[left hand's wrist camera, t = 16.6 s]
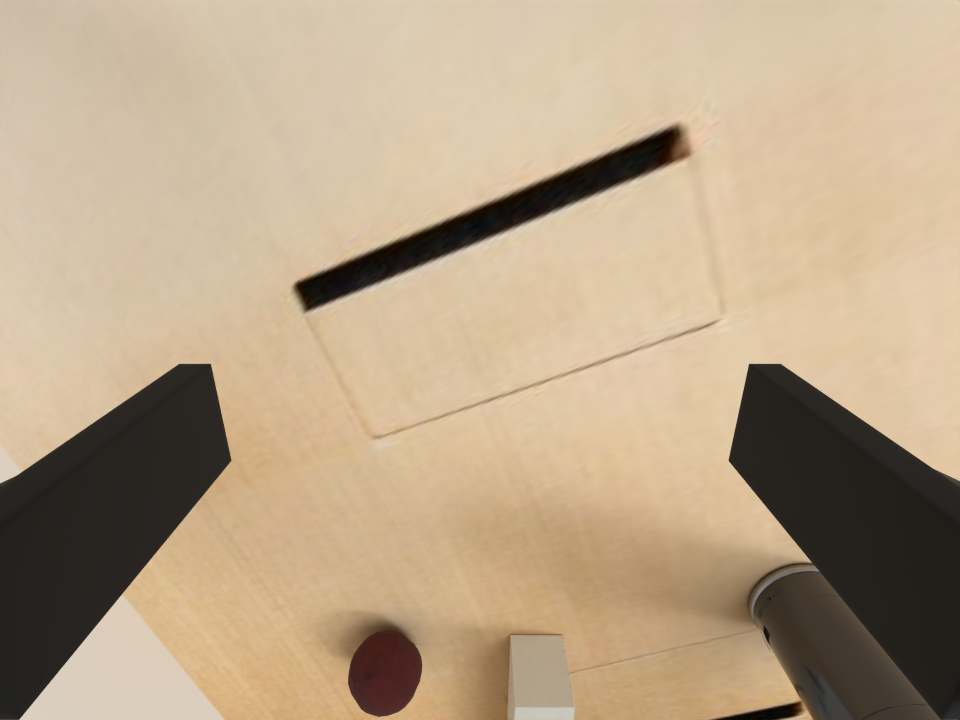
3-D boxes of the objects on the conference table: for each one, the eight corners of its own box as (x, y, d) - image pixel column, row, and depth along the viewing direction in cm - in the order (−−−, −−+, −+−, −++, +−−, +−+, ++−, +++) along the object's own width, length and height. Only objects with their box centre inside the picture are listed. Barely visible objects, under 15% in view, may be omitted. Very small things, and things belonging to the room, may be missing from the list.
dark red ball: (374, 672, 57) (360, 739, 51) (345, 624, 54) (327, 688, 48) (435, 657, 56) (429, 723, 50) (409, 608, 54) (399, 671, 47)
